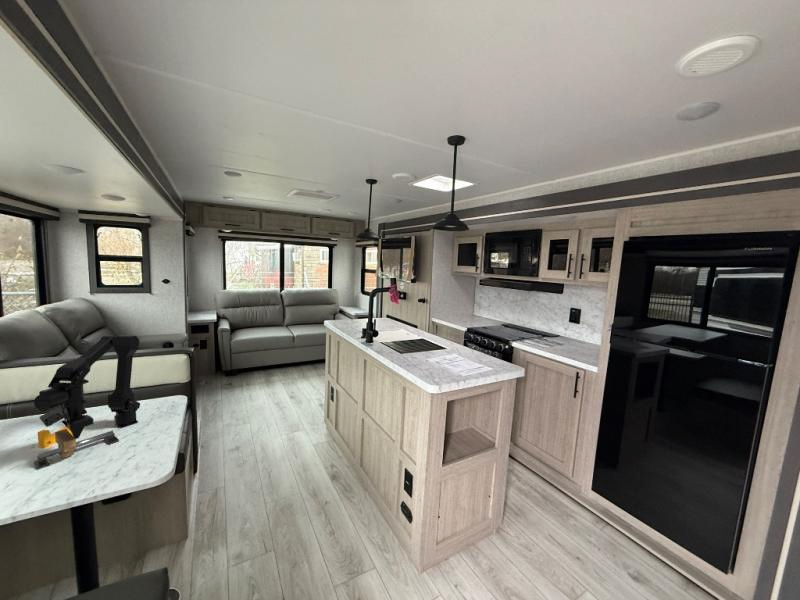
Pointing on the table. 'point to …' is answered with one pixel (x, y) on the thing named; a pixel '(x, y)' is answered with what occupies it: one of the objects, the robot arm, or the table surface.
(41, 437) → the pipe clamp
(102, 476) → the table surface
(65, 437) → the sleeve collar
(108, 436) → the grey guide rail
